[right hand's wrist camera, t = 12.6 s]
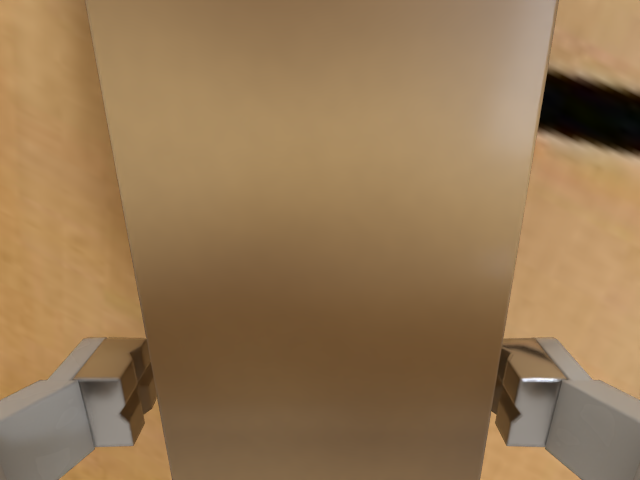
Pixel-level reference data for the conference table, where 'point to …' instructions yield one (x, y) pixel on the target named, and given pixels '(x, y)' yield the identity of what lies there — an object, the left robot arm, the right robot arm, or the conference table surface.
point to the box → (323, 222)
